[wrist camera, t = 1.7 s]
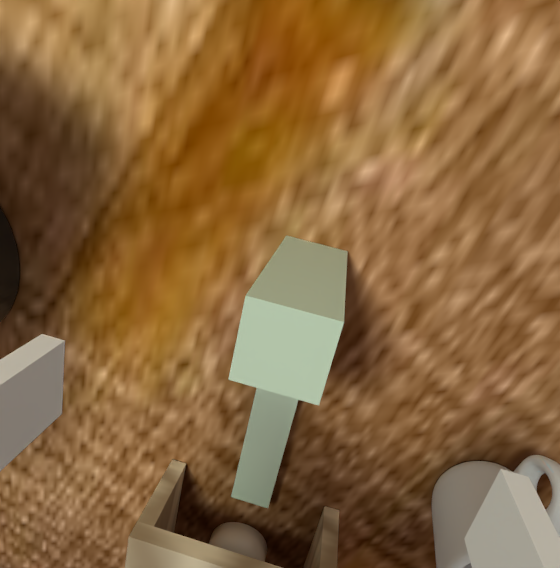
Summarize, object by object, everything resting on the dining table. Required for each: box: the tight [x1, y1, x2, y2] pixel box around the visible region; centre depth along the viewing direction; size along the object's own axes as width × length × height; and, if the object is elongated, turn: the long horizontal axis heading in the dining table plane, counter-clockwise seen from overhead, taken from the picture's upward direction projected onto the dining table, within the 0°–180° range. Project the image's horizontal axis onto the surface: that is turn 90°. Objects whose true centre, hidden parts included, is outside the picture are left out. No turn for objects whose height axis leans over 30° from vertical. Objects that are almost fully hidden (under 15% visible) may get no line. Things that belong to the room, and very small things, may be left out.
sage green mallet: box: [228, 236, 348, 508], centre depth 25 cm, size 4×21×11 cm, turn 167°
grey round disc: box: [209, 522, 267, 562], centre depth 36 cm, size 5×5×2 cm
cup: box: [432, 455, 560, 568], centre depth 27 cm, size 11×8×8 cm
